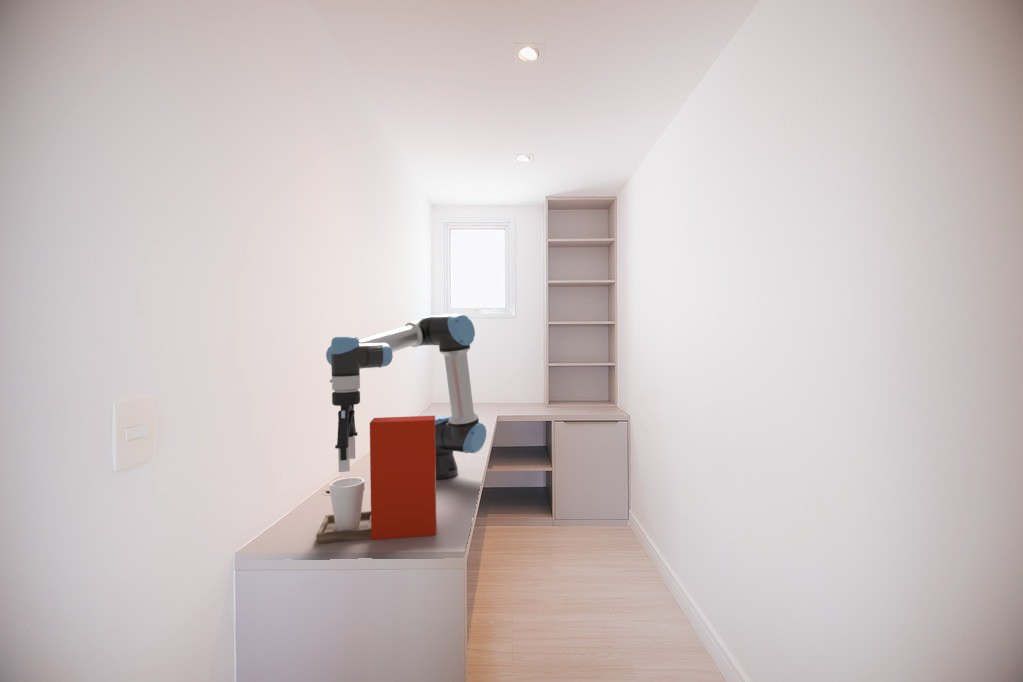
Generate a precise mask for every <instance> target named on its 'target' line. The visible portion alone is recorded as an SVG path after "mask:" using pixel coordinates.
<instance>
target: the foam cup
mask: <svg viewBox="0 0 1023 682" xmlns="http://www.w3.org/2000/svg"><path fill="white" fill-rule="evenodd" d="M365 489H366V488H365V479H364V478H362V477H357V476H356V477H355V476H353V477H351V476H349V477H344V478H343V477H342V478H338V479H335V480H333V481H331V482H329V494H330V499H331V504H332V505H331V507H332V512H333V515H334V520H335V526H336V531H344V530H353V529H358V528H359V525H360V518H361V512H362V509H363V500H364V491H365Z"/></svg>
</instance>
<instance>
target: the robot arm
mask: <svg viewBox="0 0 1023 682" xmlns="http://www.w3.org/2000/svg"><path fill="white" fill-rule="evenodd" d="M475 336H476V332H475V327H474V323H473V322H472V320H471V319H470V318H469V317H468V316H467V315H465V314H462V313H461V314H459V313H450V314H440V315H438V314H437V315H436V314H435V315H429V316H426V317H423V318H419V319H416V320H413V321H409V322H407V323H406V324H405V325H404V326H402V327H398V328H396V329H391V330H388V331H384V332H380V333H377V334H373V335H369V336H366V337H362V338H359V337H357V336H335V337H333V338H332V339H331V344H330V346H329V347H328V348H327V349H326V353H325V356H326V357H325V358H326V361H327V363H329V365H330V366H331V379H330V380H329V383H330V384H331V390H332V391H333V392H332V393H331V404H332V405H333V406H335V407H339V406H340V410H339V411H338V413H337V416H338V417H337V418H338V421H337V438H336V439H337V442H336V444H335V445H334V448H335V449H336V450H338V453H337V454H338V455H337V457H338V458H337V459H338V473H344V472H350V467H351V465H350V463H351V461H350V460H354V459H356V436H357V437H358V431H357V430H356V420H355V405H358V404H360V403H361V392H360V390H359V389H361V377H360V371H361V370H360V369H362V370H363V369H371V368H372V369H373V368H374V369H375V368H378V369H379V368H383V367H387V366H389V365H390V364H391V362H392V361H393V356H394V355H393V354H394V353H393V352H397V351H399V350H403V349H405V348H409V347H412V348H417V347H420V346H421V347H422V346H438V349H439V353H441V354H442V355H443V357H444V364H445V371H446V380H447V387H448V394H449V395H448V396H449V403H450V410H451V415H446V416H445V415H444V416H435V447H436V480H445V479H450V478H453V477H456V476H457V475H458V473H459V470H458V469H459V468H458V465H457V462H456V459H455V456H454V452H459V453H465V454H476V453H478V452H480V450H482V448H483V446H484V444H485V443H486V439H487V429H486V428H487V427H486V426H485V425H484V424H483V423H481V422H479V421H480V420H479V414H477V413H475V411H474V402H473V396H472V395H473V394H472V386H471V378H470V369H469V361H468V354H467V353H468V351H469V350H470V348H471V344H472V343H473V342H474V340H475V339H474V338H475Z"/></svg>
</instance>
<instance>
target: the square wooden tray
mask: <svg viewBox="0 0 1023 682" xmlns="http://www.w3.org/2000/svg"><path fill="white" fill-rule="evenodd" d="M315 535H316V536H315V537H316V545H321V544H329V543H338V542H339V543H340V542H347V541H348V542H349V541H358V540H359V541H360V540H367V539H371V510H367V511H361V518H360V525H359V528H358V529H353V530H344V531H336V526H335V520H334V514H326V515H325V516H324V518H323V520H322V522H321V524H320V527H319V528H318V531H317V533H316V534H315Z"/></svg>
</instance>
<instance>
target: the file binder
mask: <svg viewBox="0 0 1023 682" xmlns="http://www.w3.org/2000/svg"><path fill="white" fill-rule="evenodd" d="M435 418H436V415H421V416H419V415H415V416H414V415H413V416H391V417H389V416H388V417H387V416H385V417H374V418H373V419H372V420H371V421H370V422H369V458H370V459H369V461H370V462H369V464H370V465H369V467H370V473H369V474H370V511H371V538H370V539H371V541H375V540H376V541H377V540H388V539H389V540H391V539H392V540H393V539H402V538H405V539H406V538H417V537H428V536H433V537H434V536H436V535H437V524H438V523H437V520H438V519H437V479H436V447H435Z"/></svg>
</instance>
